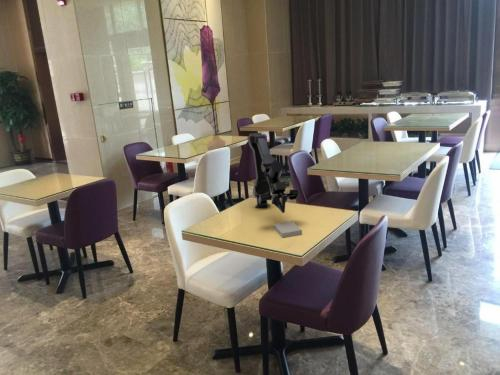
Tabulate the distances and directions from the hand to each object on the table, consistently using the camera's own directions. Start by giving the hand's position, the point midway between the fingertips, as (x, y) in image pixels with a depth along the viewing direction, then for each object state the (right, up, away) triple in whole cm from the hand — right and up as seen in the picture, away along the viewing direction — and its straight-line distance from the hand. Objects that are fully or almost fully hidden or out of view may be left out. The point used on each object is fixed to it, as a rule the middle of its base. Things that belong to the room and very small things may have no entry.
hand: (283, 212), depth 195 cm
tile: (0, -6, +4) cm, 7 cm away
